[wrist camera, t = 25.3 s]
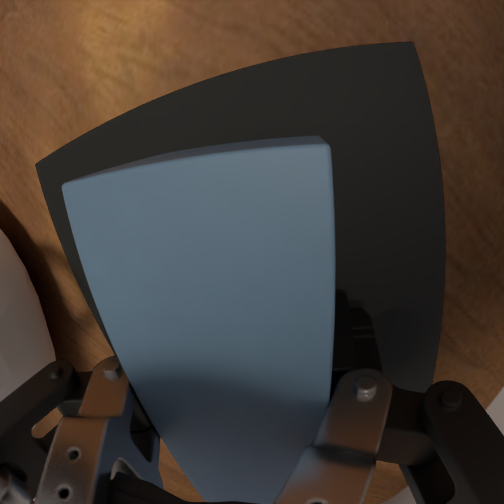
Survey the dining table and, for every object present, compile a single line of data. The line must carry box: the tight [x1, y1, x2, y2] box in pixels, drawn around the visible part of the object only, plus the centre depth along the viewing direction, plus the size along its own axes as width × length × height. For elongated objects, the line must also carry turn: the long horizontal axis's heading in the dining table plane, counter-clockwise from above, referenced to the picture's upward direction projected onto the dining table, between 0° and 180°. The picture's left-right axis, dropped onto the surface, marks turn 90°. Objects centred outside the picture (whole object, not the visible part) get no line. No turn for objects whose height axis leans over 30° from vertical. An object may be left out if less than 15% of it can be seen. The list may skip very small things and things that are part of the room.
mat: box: [35, 42, 446, 393], centre depth 11 cm, size 14×18×1 cm
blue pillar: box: [62, 136, 336, 504], centre depth 9 cm, size 4×4×14 cm
